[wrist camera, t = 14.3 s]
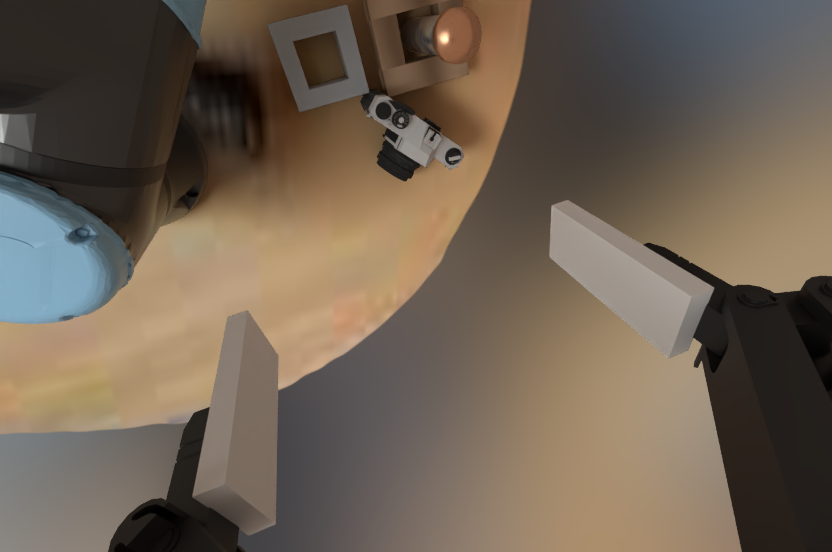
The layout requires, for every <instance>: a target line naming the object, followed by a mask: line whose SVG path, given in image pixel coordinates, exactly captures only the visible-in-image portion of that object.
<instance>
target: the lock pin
mask: <svg viewBox="0 0 832 552" xmlns="http://www.w3.org/2000/svg"><path fill="white" fill-rule="evenodd" d="M400 35H401V41H402V43H403V45H404V47H405V48H406V49H407V50H409V51H412V52H418V53H424V54H430V55H436V56H438V57H439V58H440V59H441V60H443V61H444V62H447V63H451V64H463V63H466V62H467V61H469V60H470V59H471V58H472V57H473V56H474V55H475V53H476V52H477V50H478V48H479V45H480V41H481V26H480V22H479V20H478V18H477V16H476V15H475V14H474V12H473V11H471V10H470V9H468V8H465V7H455V8H450V9H447V10H446V11H444V12H443V13H442V14H441V15H434V16H423V17H413V18H409V19H408V20H406V21H405V22H404V24H403V26H402V28H401V34H400Z"/></svg>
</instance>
